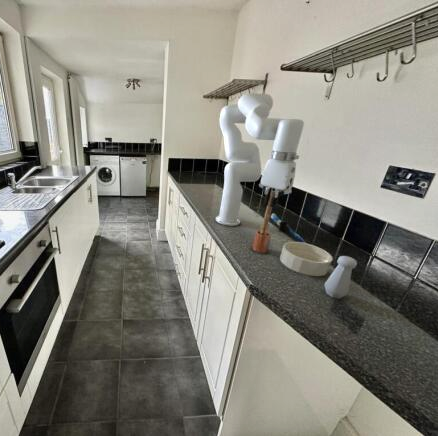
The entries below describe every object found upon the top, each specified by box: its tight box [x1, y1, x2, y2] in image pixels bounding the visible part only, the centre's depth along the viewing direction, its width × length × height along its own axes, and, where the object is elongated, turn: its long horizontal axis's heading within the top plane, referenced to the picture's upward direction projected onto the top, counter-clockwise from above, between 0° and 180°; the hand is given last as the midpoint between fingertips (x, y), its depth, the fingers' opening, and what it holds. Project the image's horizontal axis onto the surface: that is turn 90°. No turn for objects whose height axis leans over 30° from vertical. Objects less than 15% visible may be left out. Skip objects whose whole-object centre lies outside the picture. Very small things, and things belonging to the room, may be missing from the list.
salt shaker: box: [323, 255, 358, 300], centre depth 70 cm, size 6×6×13 cm
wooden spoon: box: [258, 190, 276, 236], centre depth 91 cm, size 3×2×18 cm, turn 33°
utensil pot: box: [252, 230, 272, 253], centre depth 95 cm, size 5×6×8 cm
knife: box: [270, 211, 306, 243], centre depth 113 cm, size 31×3×4 cm, turn 178°
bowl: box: [279, 241, 334, 277], centre depth 86 cm, size 15×15×6 cm
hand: (270, 205), depth 89 cm, fingers closed on wooden spoon, 1 cm apart
